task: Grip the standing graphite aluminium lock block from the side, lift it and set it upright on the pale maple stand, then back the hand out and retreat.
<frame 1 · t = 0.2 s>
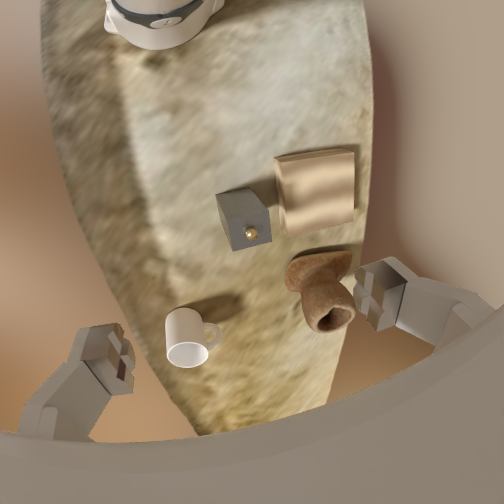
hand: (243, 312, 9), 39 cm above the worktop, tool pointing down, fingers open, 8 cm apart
mug: (191, 318, 60), on the worktop
lock block: (234, 204, 49), on the worktop
maple stand: (312, 187, 51), on the worktop
brown piece: (313, 271, 62), on the worktop
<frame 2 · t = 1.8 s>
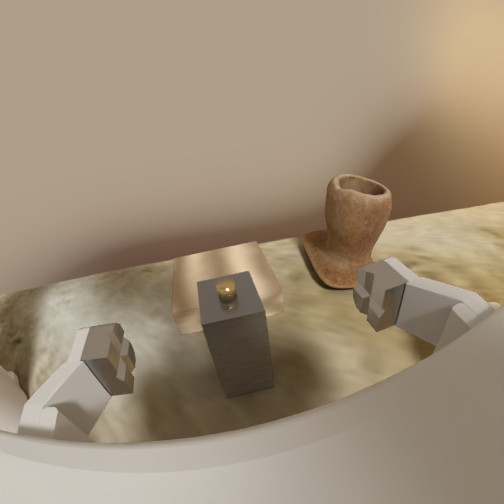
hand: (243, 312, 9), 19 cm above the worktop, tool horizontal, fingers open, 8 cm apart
lock block: (244, 371, 29), on the worktop
maple stand: (224, 293, 42), on the worktop
brown piece: (344, 266, 44), on the worktop
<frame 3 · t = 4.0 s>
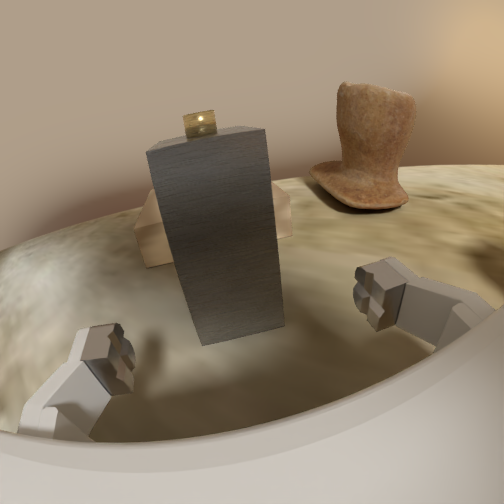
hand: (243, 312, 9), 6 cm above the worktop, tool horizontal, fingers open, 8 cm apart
lock block: (234, 305, 18), on the worktop
maple stand: (212, 223, 31), on the worktop
brown piece: (364, 196, 34), on the worktop
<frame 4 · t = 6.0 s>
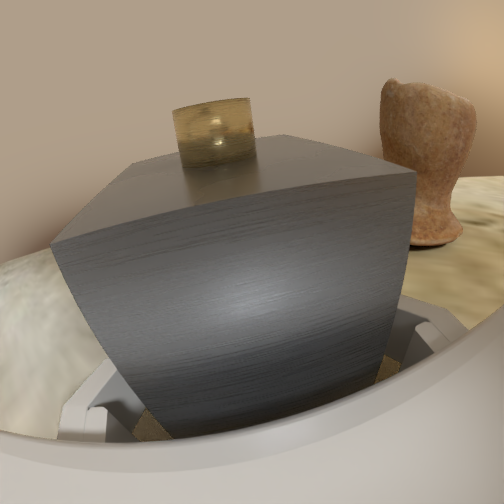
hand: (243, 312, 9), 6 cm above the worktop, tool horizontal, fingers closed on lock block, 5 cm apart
lock block: (266, 418, 11), on the worktop, touching gripper
brown piece: (406, 222, 27), on the worktop
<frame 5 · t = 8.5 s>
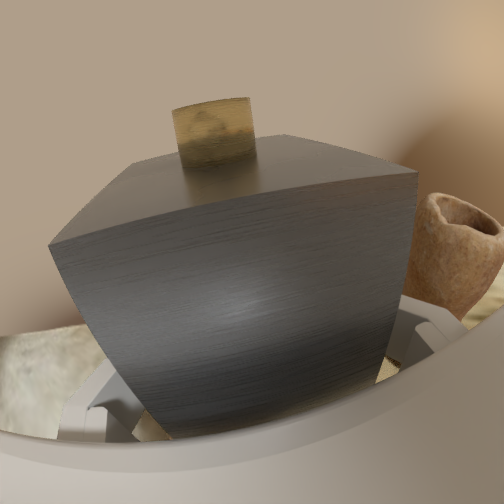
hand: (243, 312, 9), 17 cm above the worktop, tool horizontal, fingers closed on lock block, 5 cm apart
lock block: (267, 419, 11), point 11 cm above the worktop, touching gripper
brown piece: (417, 324, 27), on the worktop
when the fingers open (11 cm above the worktop, at t = 10.9 s): lock block drops 1 cm, resting on maple stand.
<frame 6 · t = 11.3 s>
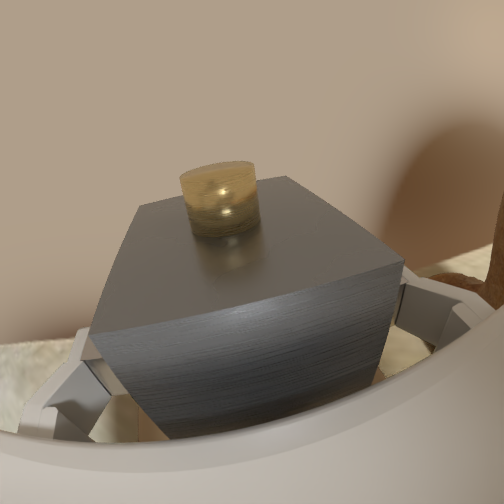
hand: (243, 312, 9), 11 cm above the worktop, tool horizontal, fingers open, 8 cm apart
lock block: (267, 430, 12), point 4 cm above the worktop, touching maple stand
maple stand: (273, 452, 14), on the worktop
brown piece: (486, 344, 16), on the worktop
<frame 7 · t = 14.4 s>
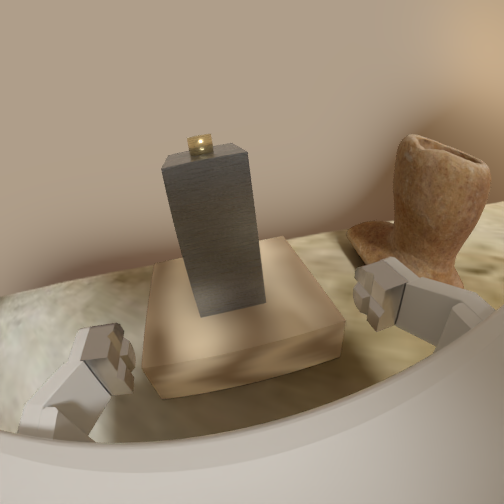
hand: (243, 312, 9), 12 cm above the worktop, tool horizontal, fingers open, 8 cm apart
lock block: (227, 287, 23), point 4 cm above the worktop, touching maple stand
maple stand: (235, 322, 25), on the worktop
brown piece: (410, 273, 28), on the worktop
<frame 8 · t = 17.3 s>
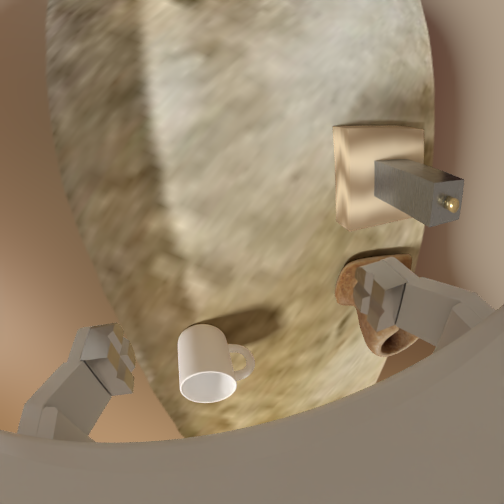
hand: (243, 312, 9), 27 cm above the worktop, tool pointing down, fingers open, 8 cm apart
mug: (212, 338, 45), on the worktop
lock block: (390, 176, 34), point 4 cm above the worktop, touching maple stand
maple stand: (374, 170, 38), on the worktop
brown piece: (366, 279, 47), on the worktop
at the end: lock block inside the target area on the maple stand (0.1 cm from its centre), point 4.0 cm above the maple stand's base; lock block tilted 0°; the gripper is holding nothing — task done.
